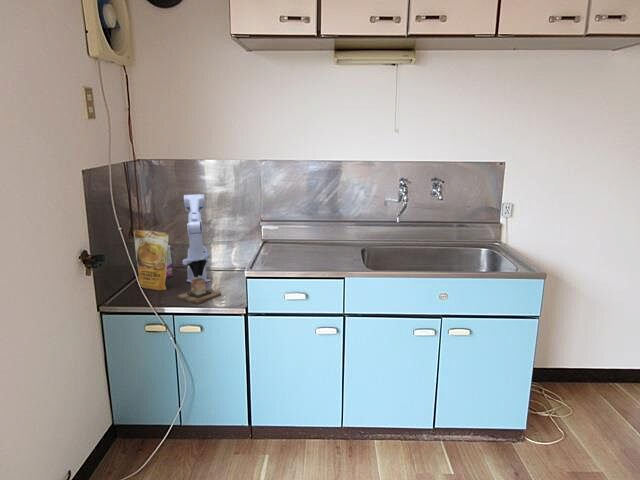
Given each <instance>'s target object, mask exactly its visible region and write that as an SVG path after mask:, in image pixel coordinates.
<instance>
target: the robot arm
mask: <svg viewBox="0 0 640 480" xmlns="http://www.w3.org/2000/svg"><path fill="white" fill-rule="evenodd" d="M183 206H184V209H185V212H187V213H188V215H187V218H188V219H187V223H186V228H187V229H186V230H187V235H188V242H189V247H188V249H187V258H184V259H183V260H182V265H183V266H186V265H187V268H186V273H187V279H186V282H189V283H191V280H192V279H196V278H202V279H205V283H207V282H210V281H211V279H210V278H209V279H208V277H207V264H208V263H209V259H211V258H212V253H209V252H208V248H207V247H206V246H205V245H204V244H203V232H204V229H203V222H202V214H201V213H202V212H204V211H205V208H206V202H205V194H203V193H201V194H199V193H198V194H184V195H183Z"/></svg>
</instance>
